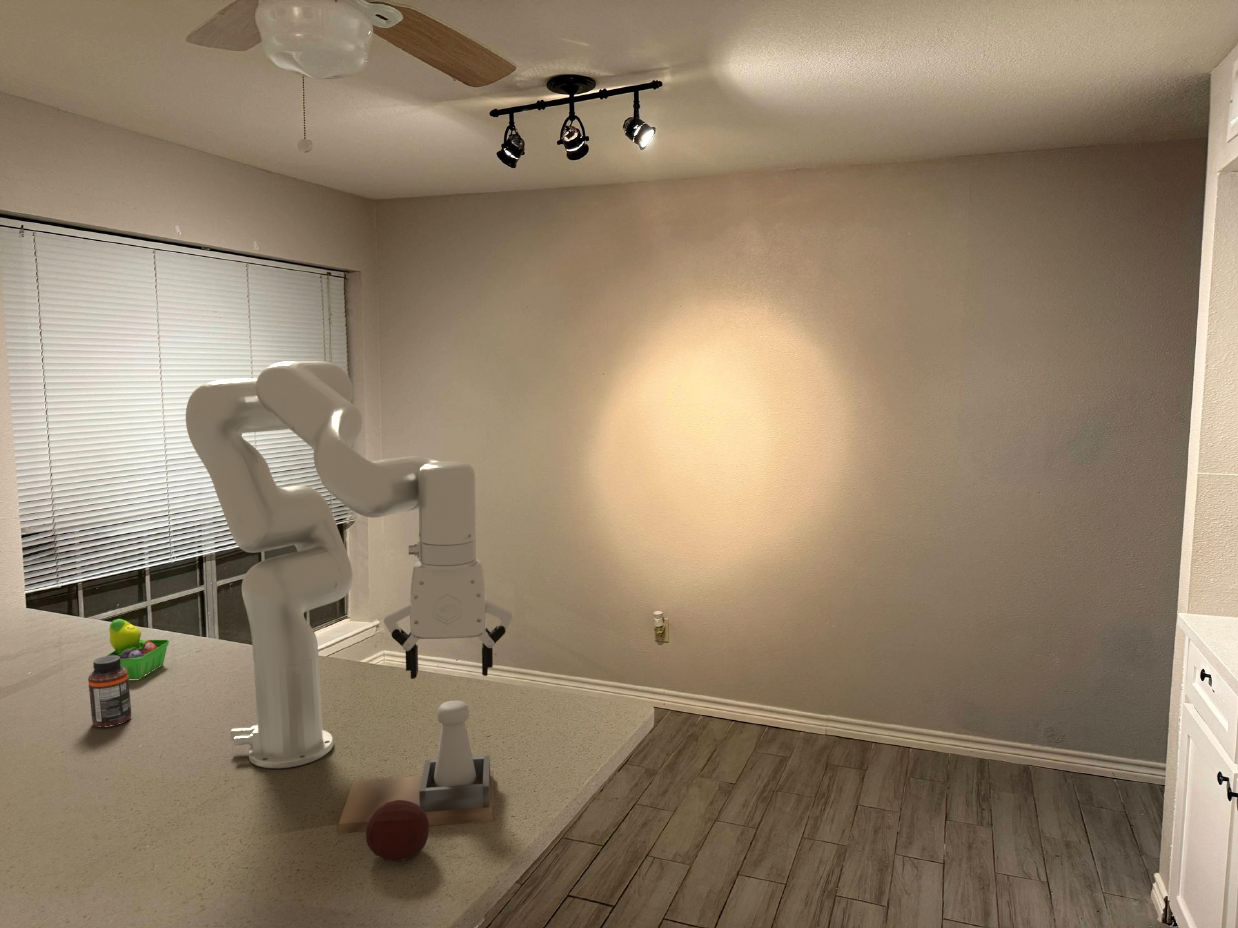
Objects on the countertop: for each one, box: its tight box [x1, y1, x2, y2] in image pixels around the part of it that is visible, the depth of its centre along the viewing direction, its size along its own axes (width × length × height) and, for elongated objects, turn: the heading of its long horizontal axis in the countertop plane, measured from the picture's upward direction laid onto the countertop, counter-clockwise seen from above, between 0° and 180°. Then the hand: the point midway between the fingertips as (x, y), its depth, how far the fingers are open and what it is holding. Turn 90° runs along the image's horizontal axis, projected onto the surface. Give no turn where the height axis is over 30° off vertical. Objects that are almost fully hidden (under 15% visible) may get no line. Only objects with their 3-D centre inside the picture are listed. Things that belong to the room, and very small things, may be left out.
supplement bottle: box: [87, 655, 132, 728], centre depth 149 cm, size 6×6×11 cm
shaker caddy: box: [337, 755, 494, 834], centre depth 120 cm, size 20×12×4 cm, turn 98°
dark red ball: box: [365, 800, 430, 862], centre depth 107 cm, size 7×8×7 cm
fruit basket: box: [106, 618, 170, 679], centre depth 173 cm, size 11×9×11 cm
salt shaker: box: [434, 700, 476, 787], centre depth 120 cm, size 6×6×13 cm
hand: (450, 673), depth 119 cm, fingers open, 9 cm apart
